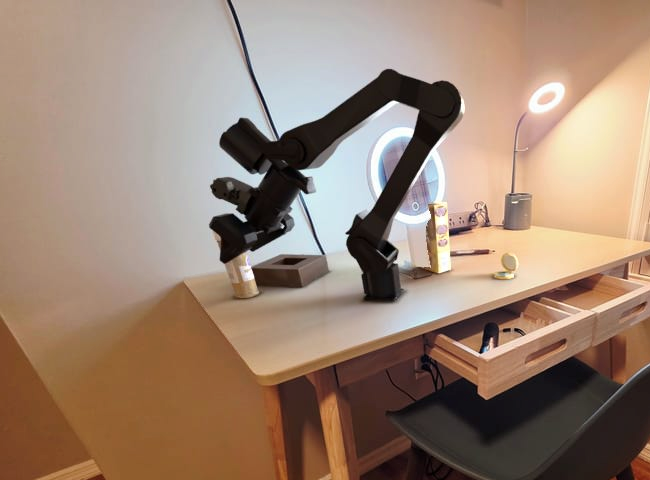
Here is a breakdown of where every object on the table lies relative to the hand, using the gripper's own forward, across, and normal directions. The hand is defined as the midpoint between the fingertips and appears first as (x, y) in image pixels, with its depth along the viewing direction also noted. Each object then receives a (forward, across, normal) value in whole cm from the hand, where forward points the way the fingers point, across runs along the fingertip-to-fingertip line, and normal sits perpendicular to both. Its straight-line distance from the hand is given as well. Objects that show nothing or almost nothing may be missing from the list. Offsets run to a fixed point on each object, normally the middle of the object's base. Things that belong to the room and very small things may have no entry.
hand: (237, 255), depth 73 cm
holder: (+3, -12, +8) cm, 15 cm away
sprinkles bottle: (+6, 0, +6) cm, 8 cm away
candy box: (-20, -19, +31) cm, 41 cm away
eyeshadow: (-32, -13, +43) cm, 55 cm away
